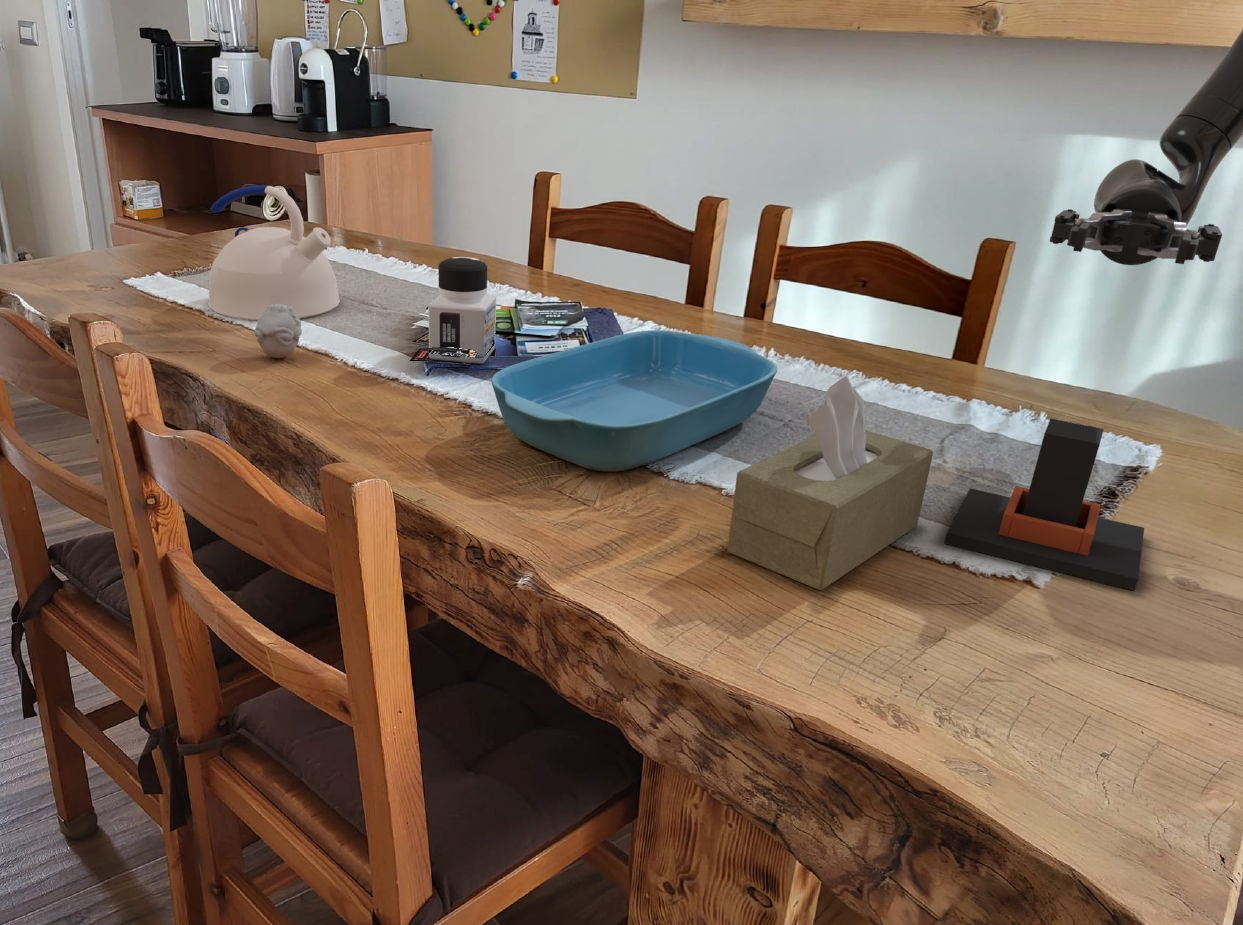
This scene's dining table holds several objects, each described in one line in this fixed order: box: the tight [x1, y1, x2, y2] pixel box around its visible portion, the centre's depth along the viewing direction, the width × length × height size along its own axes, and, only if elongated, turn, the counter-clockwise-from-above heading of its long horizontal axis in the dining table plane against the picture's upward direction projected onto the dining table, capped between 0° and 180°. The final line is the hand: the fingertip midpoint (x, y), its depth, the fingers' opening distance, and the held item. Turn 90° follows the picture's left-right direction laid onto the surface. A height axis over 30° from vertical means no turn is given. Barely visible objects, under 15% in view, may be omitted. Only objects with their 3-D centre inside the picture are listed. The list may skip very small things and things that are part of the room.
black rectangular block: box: [1022, 418, 1104, 527], centre depth 96 cm, size 4×4×10 cm
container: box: [427, 256, 497, 365], centre depth 141 cm, size 8×8×13 cm
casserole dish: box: [490, 329, 778, 473], centre depth 120 cm, size 37×22×7 cm, turn 135°
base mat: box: [944, 485, 1145, 592], centre depth 98 cm, size 16×12×3 cm
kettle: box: [208, 184, 341, 322], centre depth 160 cm, size 20×21×18 cm
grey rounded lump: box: [254, 304, 303, 359], centre depth 139 cm, size 6×7×7 cm
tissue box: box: [726, 374, 934, 591], centre depth 94 cm, size 19×10×16 cm, turn 136°
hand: (1130, 246), depth 95 cm, fingers open, 8 cm apart
